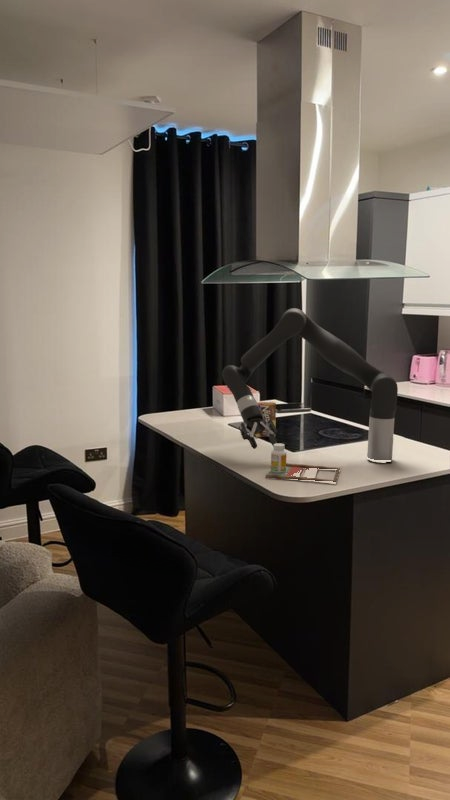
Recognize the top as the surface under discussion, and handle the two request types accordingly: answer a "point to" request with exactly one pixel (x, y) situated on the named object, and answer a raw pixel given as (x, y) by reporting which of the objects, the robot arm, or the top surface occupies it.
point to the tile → (280, 473)
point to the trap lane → (304, 477)
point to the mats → (294, 470)
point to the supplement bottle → (278, 458)
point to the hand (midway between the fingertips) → (265, 446)
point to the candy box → (267, 414)
